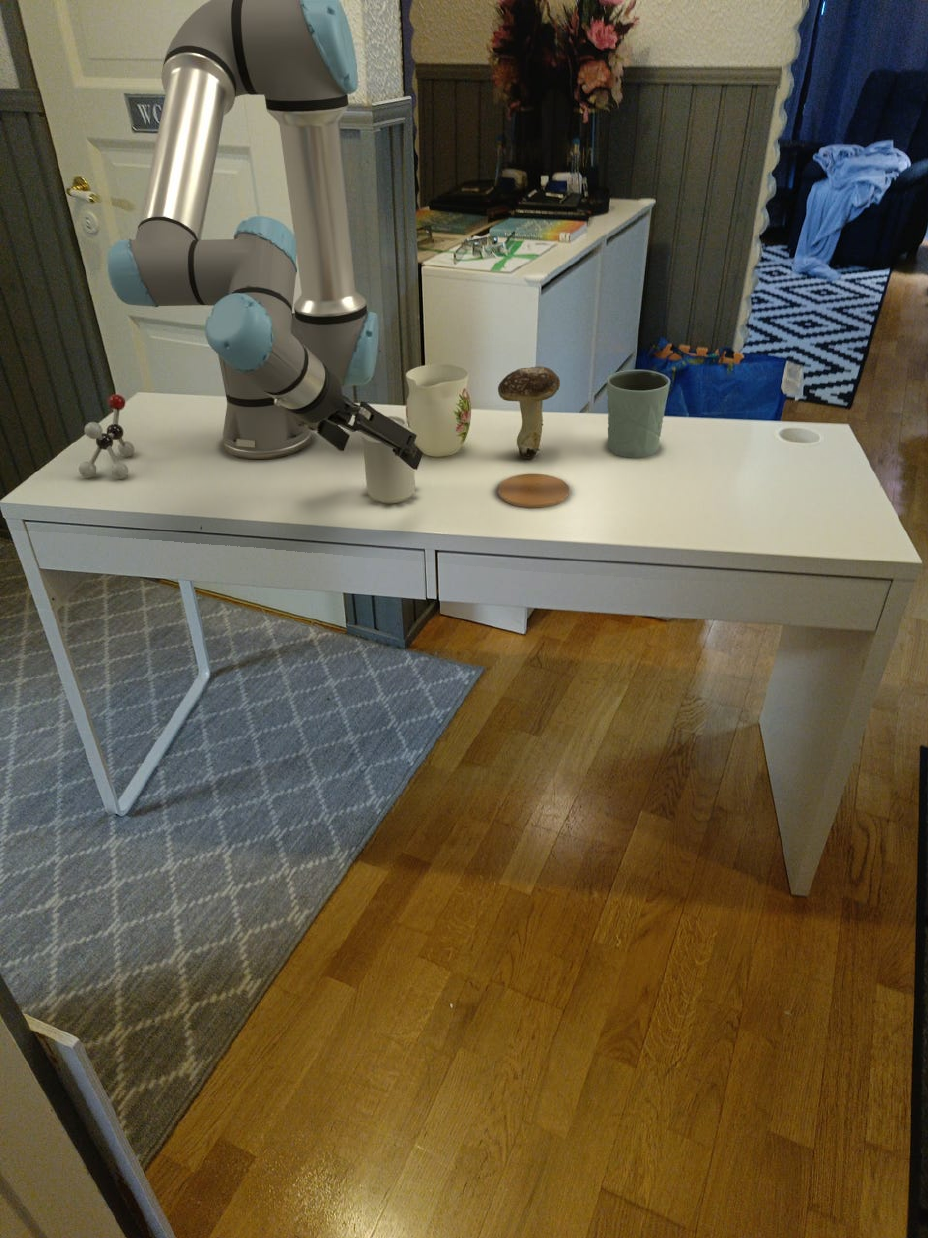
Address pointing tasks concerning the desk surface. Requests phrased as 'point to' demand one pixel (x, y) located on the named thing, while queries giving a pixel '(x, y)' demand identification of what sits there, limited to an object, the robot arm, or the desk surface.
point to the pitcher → (438, 408)
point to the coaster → (533, 490)
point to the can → (387, 470)
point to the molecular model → (108, 442)
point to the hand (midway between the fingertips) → (380, 451)
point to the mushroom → (529, 403)
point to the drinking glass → (636, 411)
